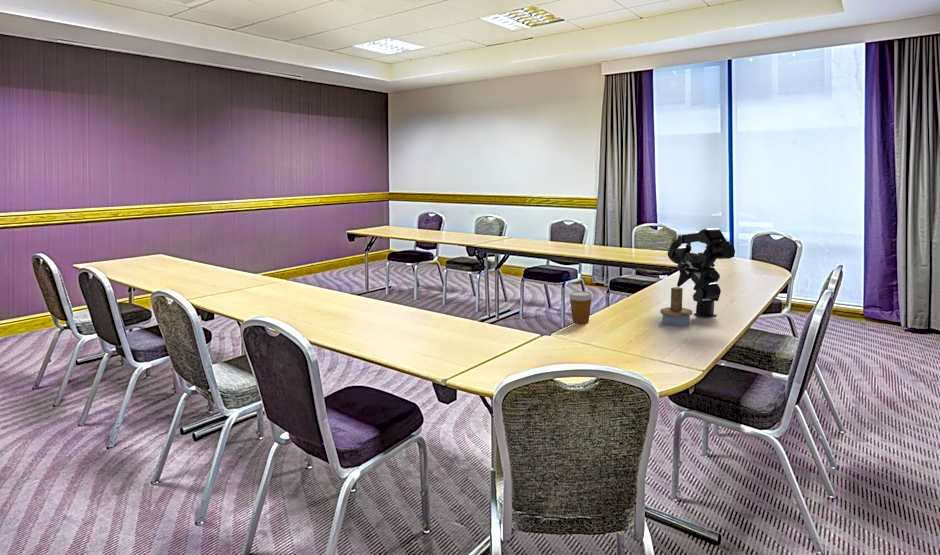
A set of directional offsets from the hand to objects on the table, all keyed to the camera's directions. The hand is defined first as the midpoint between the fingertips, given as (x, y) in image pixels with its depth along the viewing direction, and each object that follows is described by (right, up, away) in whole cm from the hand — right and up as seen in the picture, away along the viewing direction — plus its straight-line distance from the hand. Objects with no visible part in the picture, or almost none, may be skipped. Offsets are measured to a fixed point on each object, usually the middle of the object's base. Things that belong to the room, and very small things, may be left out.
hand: (685, 287), depth 237 cm
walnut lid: (-4, -10, 0) cm, 11 cm away
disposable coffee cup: (-41, -14, +6) cm, 43 cm away
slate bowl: (-4, -14, +1) cm, 14 cm away
